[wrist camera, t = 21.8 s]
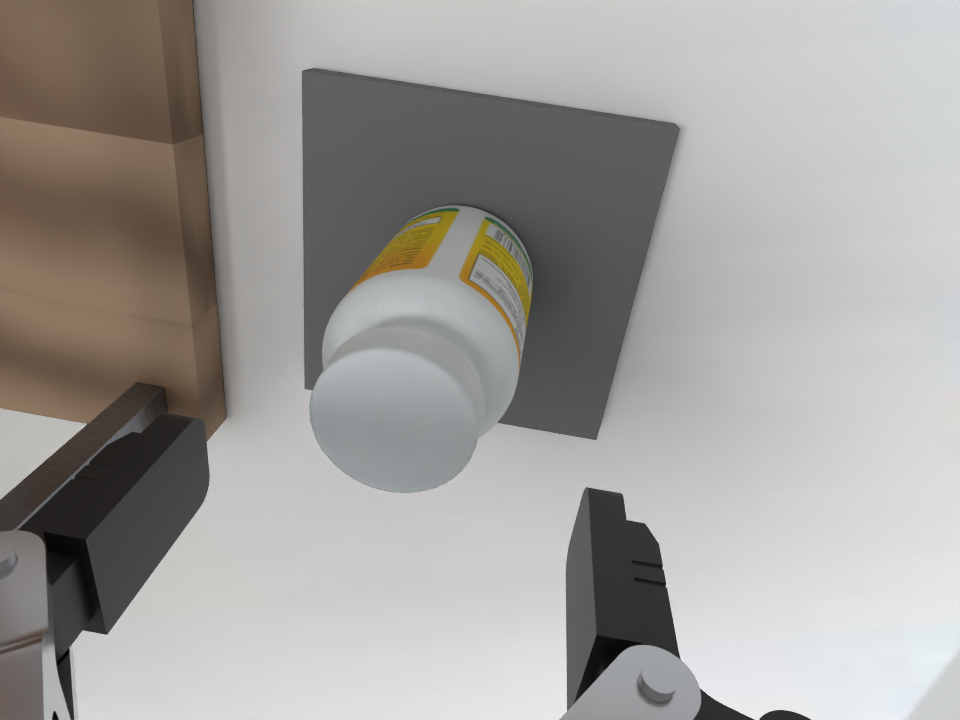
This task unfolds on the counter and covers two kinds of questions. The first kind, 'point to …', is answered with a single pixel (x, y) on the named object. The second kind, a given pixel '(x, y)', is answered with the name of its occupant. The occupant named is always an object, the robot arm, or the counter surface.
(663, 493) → the counter surface
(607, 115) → the mat
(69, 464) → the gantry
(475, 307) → the supplement bottle
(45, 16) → the well board
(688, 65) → the counter surface
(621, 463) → the counter surface
